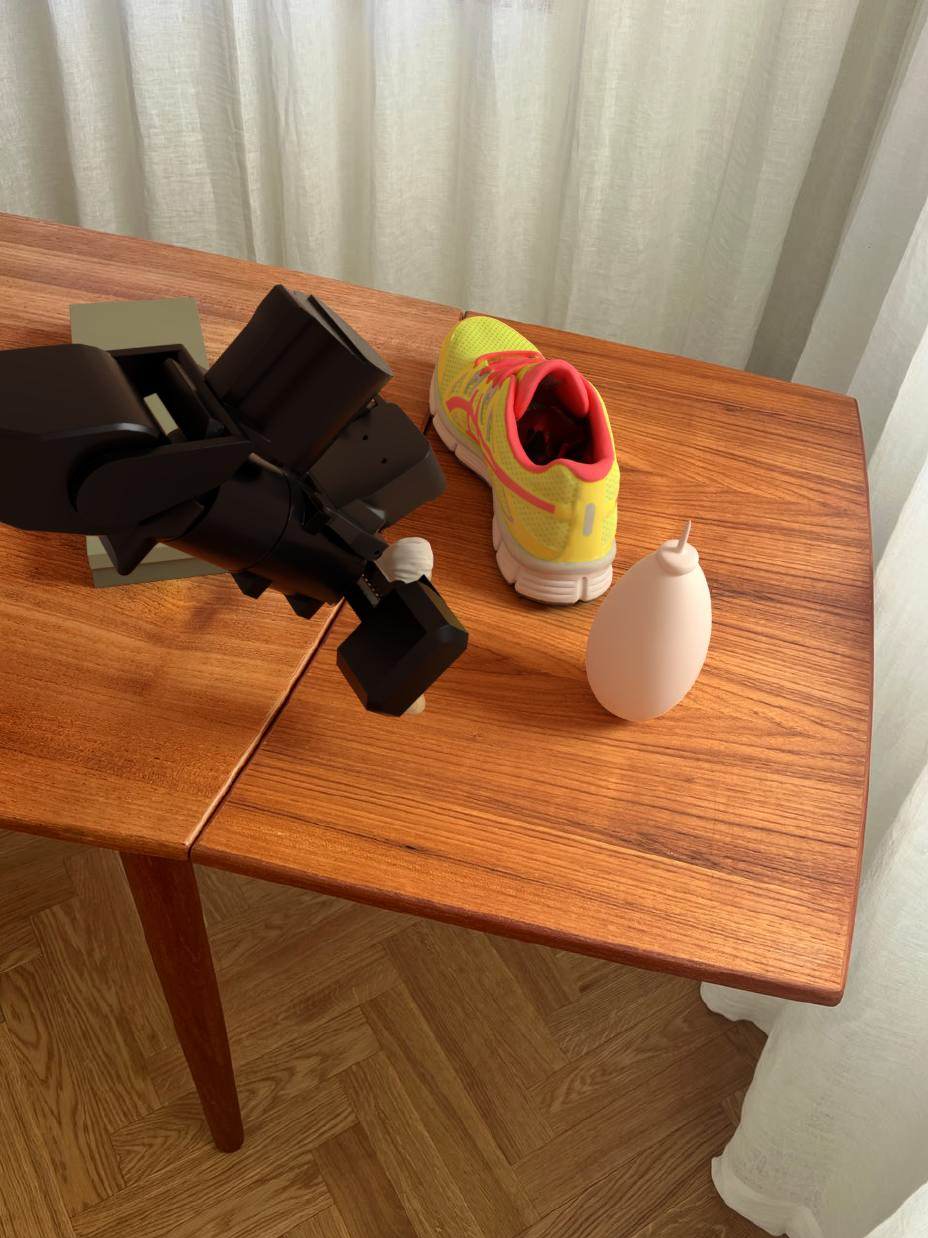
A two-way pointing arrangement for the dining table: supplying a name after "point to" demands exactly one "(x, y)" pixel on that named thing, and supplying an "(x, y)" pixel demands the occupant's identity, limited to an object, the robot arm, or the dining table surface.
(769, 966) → the dining table surface
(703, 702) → the dining table surface
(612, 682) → the white bulb air blower
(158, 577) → the olive green stone
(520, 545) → the running shoe
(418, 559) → the grandmother figurine
